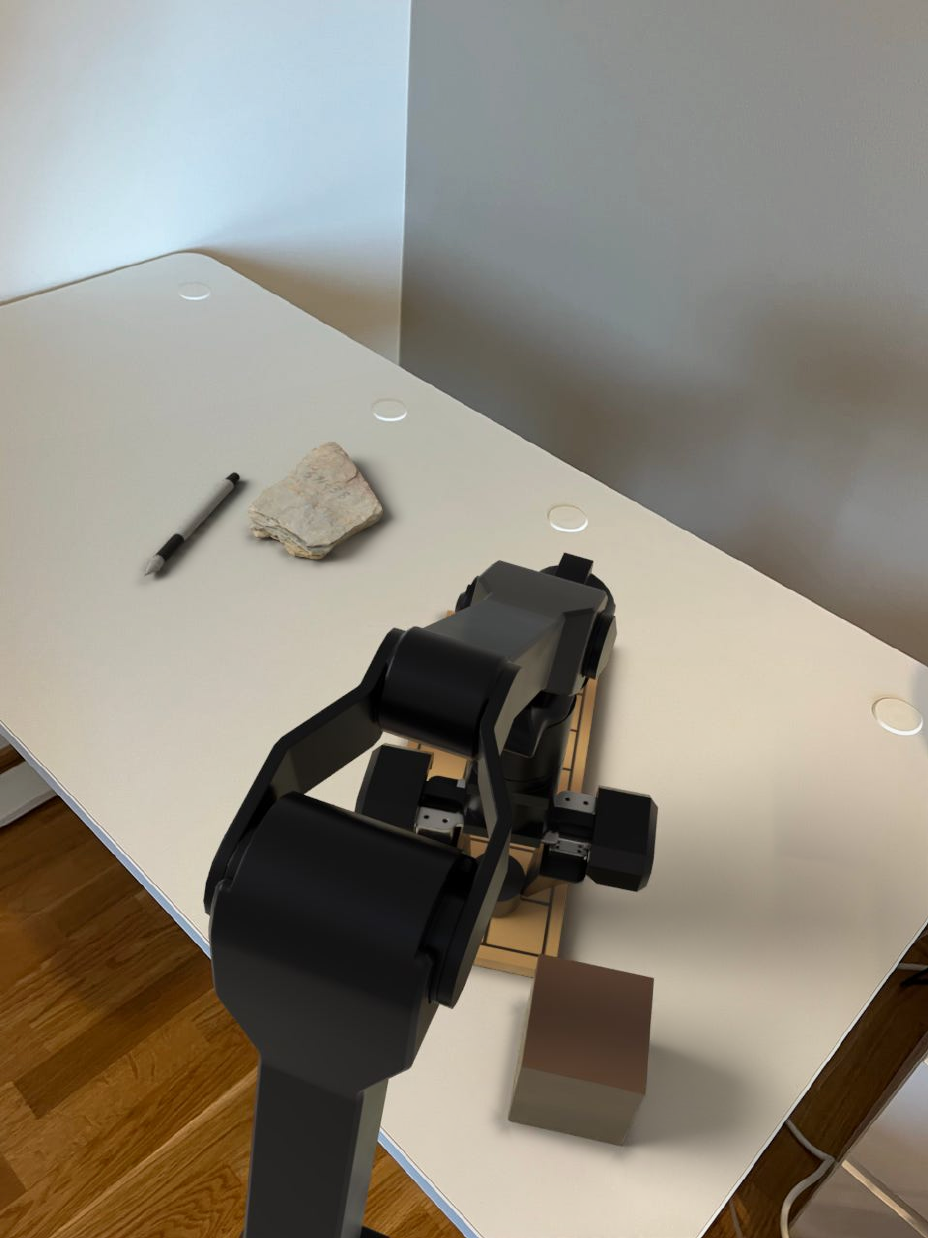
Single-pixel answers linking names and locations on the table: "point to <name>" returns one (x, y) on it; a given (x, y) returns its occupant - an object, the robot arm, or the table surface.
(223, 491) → the pen
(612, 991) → the stone stand
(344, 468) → the stone
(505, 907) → the game stone
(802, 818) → the table surface
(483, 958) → the board
